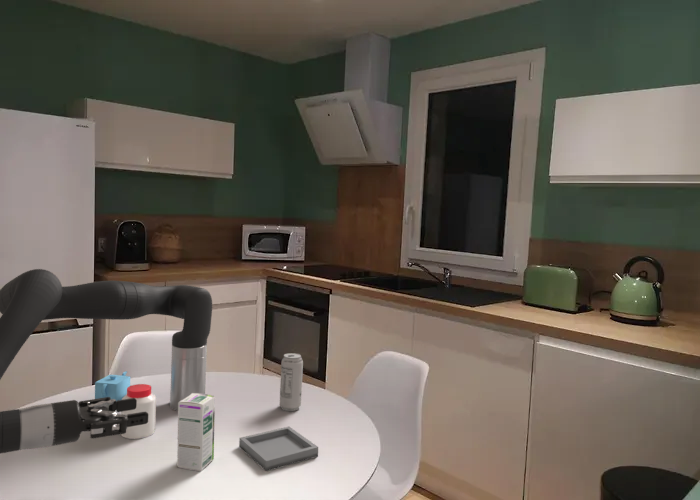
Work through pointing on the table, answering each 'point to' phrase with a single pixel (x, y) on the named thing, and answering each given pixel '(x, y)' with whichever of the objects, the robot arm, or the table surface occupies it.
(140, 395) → the pill bottle
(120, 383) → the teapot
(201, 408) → the syrup box
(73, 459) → the table surface
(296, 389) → the energy drink can
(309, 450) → the tray
